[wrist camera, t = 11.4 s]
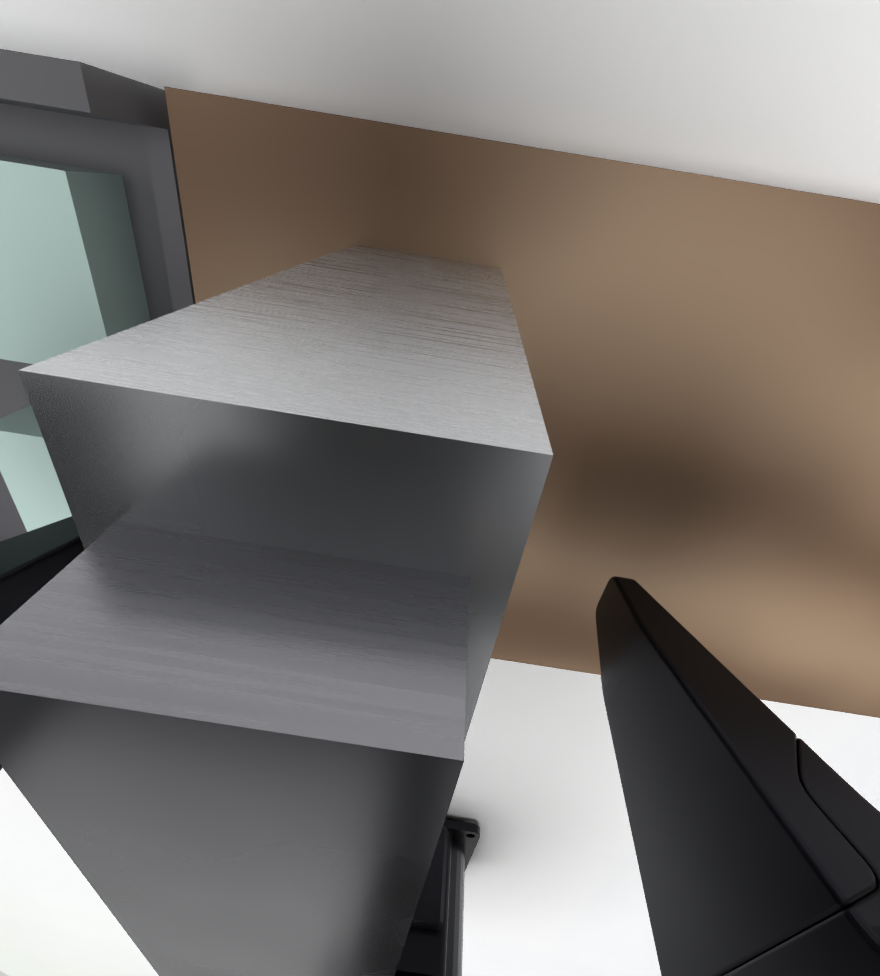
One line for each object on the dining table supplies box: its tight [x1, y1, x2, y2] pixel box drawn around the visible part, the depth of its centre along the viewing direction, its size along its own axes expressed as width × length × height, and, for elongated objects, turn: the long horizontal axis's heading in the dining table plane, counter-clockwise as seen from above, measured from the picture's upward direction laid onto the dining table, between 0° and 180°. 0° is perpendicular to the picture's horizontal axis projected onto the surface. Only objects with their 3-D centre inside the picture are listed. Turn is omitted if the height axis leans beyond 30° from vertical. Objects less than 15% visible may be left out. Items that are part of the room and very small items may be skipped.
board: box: [164, 87, 880, 718], centre depth 13 cm, size 14×25×2 cm, turn 82°
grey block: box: [0, 244, 553, 976], centre depth 8 cm, size 10×3×9 cm, turn 172°
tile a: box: [0, 405, 72, 532], centre depth 14 cm, size 4×4×2 cm
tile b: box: [0, 155, 151, 364], centre depth 10 cm, size 4×4×2 cm
